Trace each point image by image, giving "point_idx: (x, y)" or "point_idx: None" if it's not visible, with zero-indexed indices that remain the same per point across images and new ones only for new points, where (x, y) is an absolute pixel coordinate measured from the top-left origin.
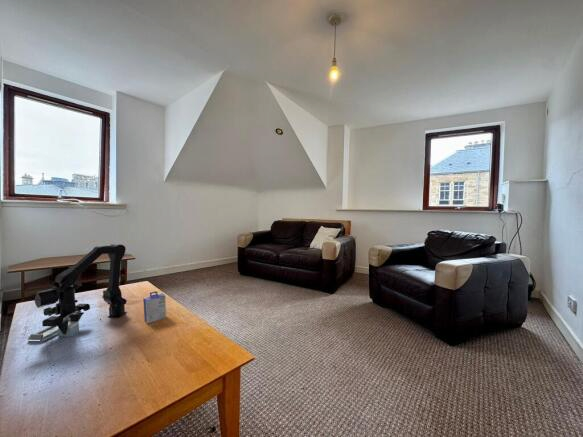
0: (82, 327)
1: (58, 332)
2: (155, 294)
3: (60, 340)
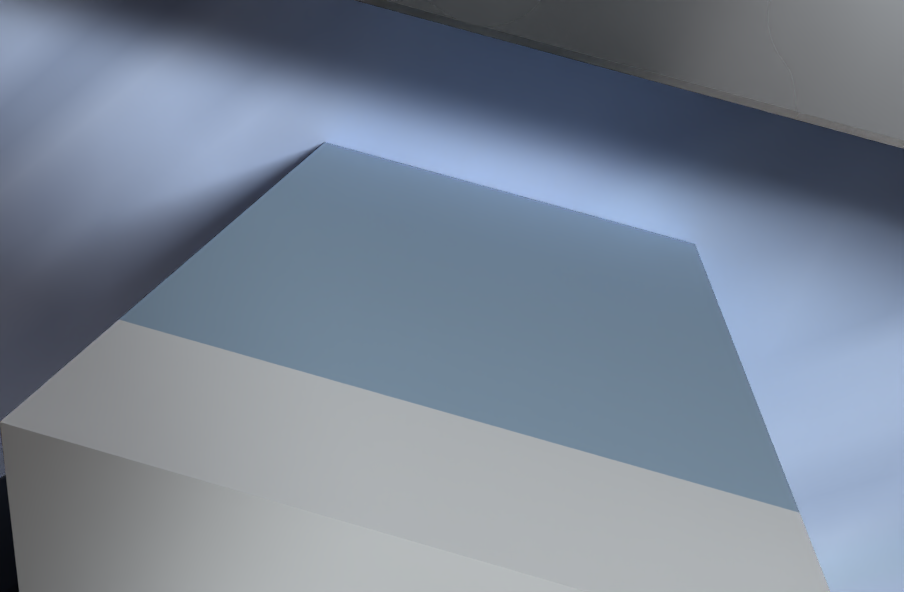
0: (872, 584)
1: (495, 33)
2: None
3: (42, 373)
